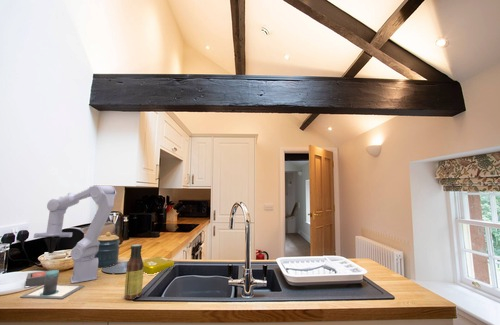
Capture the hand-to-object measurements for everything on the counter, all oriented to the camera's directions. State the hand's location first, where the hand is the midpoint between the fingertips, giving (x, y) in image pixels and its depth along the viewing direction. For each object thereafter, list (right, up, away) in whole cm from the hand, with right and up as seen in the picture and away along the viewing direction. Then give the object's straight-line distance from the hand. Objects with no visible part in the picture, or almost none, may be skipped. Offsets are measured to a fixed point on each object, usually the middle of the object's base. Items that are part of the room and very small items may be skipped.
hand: (51, 252), depth 110 cm
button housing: (+3, -9, -10) cm, 14 cm away
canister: (+15, -14, +18) cm, 27 cm away
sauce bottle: (+49, -10, -19) cm, 54 cm away
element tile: (+44, -15, +13) cm, 49 cm away
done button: (+3, -8, -10) cm, 13 cm away
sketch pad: (+17, -9, -18) cm, 26 cm away
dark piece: (+17, -8, -20) cm, 27 cm away
